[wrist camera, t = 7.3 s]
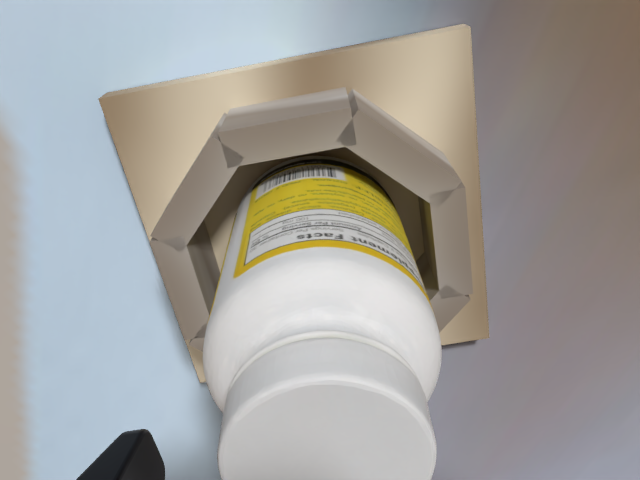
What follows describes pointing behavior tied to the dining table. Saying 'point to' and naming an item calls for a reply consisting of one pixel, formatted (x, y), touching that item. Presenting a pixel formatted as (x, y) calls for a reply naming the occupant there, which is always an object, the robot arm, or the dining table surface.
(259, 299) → the supplement bottle
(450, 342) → the octagonal ring stand
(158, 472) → the robot arm
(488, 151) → the dining table surface
